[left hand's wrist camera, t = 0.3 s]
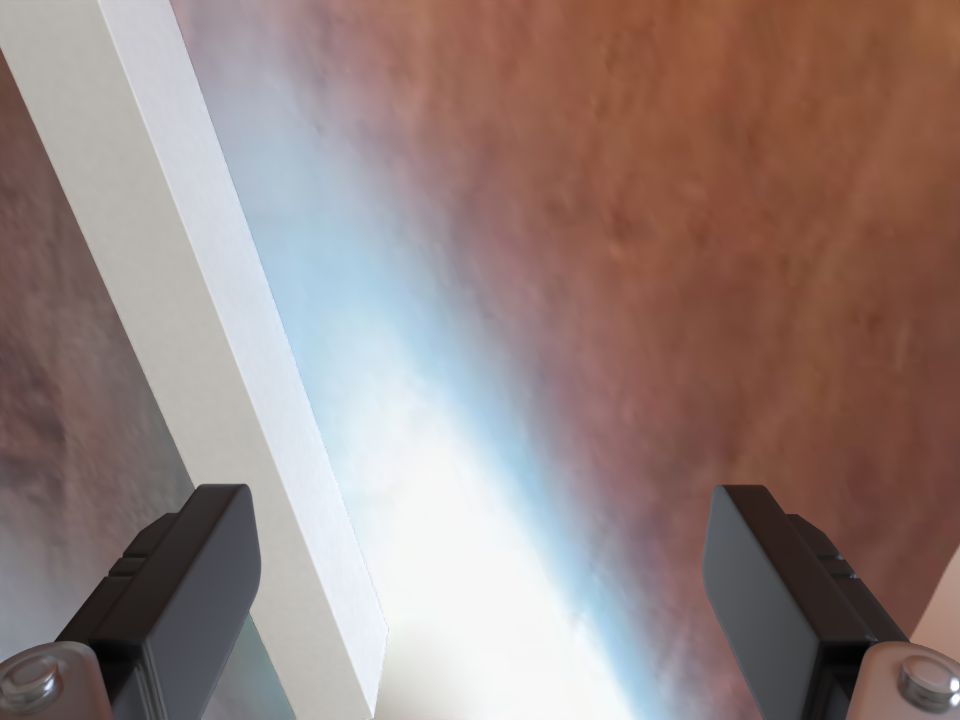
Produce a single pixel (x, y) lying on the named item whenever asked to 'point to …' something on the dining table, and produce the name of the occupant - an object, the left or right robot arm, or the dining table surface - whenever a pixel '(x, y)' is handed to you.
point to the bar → (202, 320)
